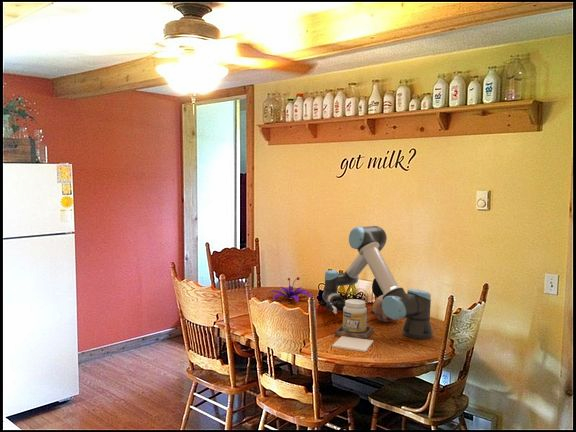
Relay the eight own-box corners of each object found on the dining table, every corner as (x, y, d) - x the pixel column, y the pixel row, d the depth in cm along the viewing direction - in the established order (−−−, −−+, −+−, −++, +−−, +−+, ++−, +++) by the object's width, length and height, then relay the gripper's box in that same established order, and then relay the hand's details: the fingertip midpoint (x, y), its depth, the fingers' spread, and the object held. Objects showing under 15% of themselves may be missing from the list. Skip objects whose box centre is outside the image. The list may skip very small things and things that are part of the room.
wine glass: (367, 312, 310) (368, 279, 309) (378, 309, 317) (379, 277, 316) (381, 315, 302) (382, 282, 301) (392, 313, 309) (393, 280, 308)
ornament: (397, 326, 282) (398, 299, 281) (370, 323, 287) (371, 296, 286) (401, 319, 296) (402, 293, 295) (374, 316, 301) (375, 291, 300)
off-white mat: (373, 342, 254) (373, 340, 254) (365, 351, 239) (365, 350, 239) (341, 337, 260) (341, 336, 260) (332, 347, 245) (332, 345, 245)
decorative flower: (305, 307, 319) (306, 283, 318) (259, 301, 330) (260, 278, 329) (319, 297, 345) (320, 275, 344) (276, 292, 356) (276, 271, 355)
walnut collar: (373, 331, 271) (373, 326, 271) (365, 340, 256) (365, 335, 256) (343, 327, 277) (343, 323, 277) (334, 335, 262) (334, 331, 262)
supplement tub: (340, 336, 262) (341, 303, 261) (344, 329, 274) (345, 297, 273) (364, 338, 259) (365, 305, 258) (367, 331, 271) (368, 299, 270)
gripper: (356, 307, 299) (370, 316, 278) (314, 308, 293) (325, 318, 273) (356, 294, 298) (370, 303, 278) (314, 295, 293) (325, 304, 272)
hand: (348, 310), depth 275 cm, fingers open, 13 cm apart
